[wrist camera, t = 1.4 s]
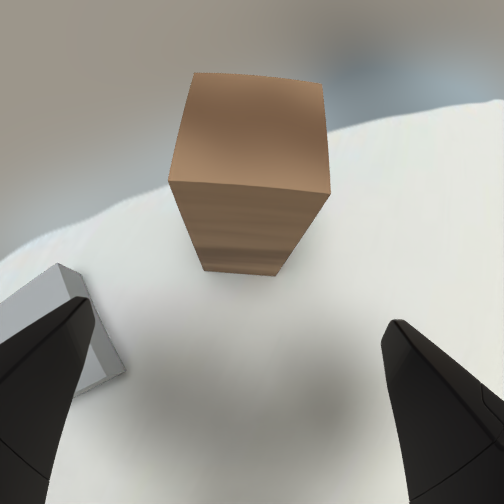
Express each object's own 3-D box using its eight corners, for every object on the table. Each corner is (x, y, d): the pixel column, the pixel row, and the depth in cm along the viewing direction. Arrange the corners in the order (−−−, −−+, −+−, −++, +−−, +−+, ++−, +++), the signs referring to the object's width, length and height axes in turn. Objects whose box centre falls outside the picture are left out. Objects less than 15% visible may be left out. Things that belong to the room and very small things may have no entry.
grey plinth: (127, 370, 19) (106, 376, 16) (53, 408, 18) (26, 416, 14) (82, 275, 21) (57, 262, 17) (15, 319, 20) (-14, 314, 16)
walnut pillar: (275, 276, 22) (330, 193, 9) (203, 270, 21) (168, 180, 9) (278, 210, 23) (321, 83, 11) (211, 205, 23) (194, 72, 10)
